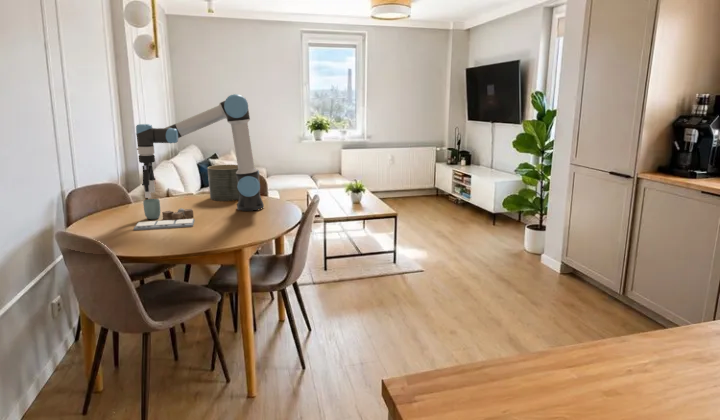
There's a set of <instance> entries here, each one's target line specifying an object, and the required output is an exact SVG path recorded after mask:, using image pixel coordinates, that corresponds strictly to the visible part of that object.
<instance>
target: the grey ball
mask: <svg viewBox="0 0 720 420" xmlns="http://www.w3.org/2000/svg"><path fill="white" fill-rule="evenodd" d="M184 210H185V208H179V209H178V210H177V212H183V216H184Z"/></svg>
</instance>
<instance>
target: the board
mask: <svg viewBox="0 0 720 420" xmlns="http://www.w3.org/2000/svg"><path fill="white" fill-rule="evenodd" d="M194 224H195V218H183V219H181V220H172V219H171V220H164V219H163V220H152V221H150V220H149V221H137V223H136V224H135V225H134V227H133V231H146V230H147V231H149V230H160V229H161V230H162V229H176V228H177V229H178V228H179V229H180V228H193V227H194Z"/></svg>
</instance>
